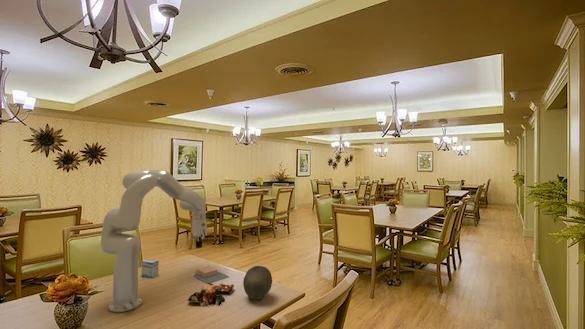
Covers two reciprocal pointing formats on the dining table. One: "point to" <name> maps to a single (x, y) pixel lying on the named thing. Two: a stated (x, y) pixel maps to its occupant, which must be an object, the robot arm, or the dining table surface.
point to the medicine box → (150, 268)
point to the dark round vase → (257, 282)
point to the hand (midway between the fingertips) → (198, 247)
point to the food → (210, 294)
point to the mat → (211, 277)
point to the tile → (206, 271)
